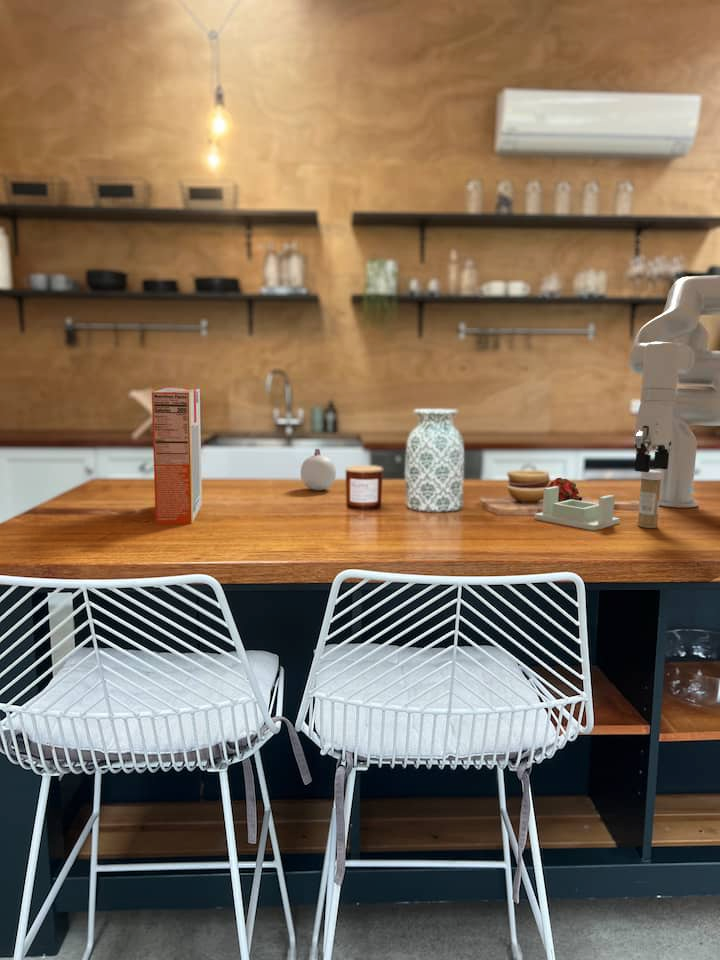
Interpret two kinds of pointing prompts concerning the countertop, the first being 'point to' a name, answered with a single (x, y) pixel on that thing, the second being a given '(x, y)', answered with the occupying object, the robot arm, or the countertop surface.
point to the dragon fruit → (565, 489)
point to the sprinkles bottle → (649, 499)
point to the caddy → (577, 511)
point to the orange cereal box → (177, 454)
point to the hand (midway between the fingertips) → (651, 470)
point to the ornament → (318, 472)
